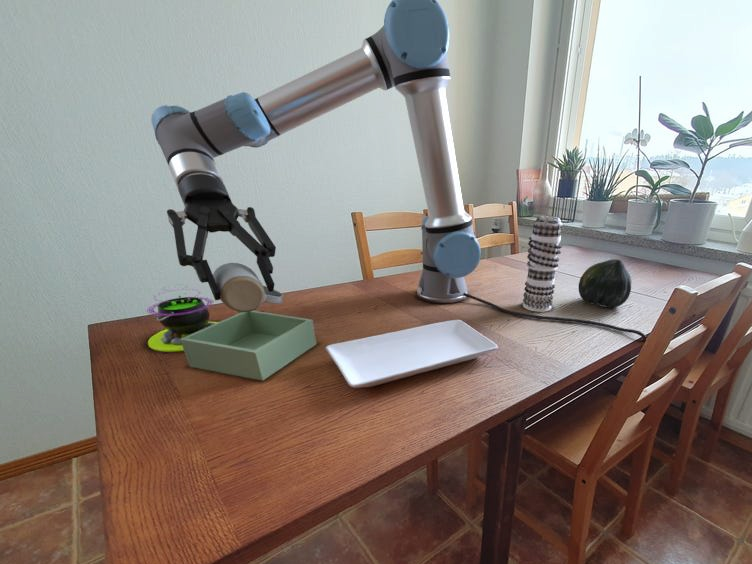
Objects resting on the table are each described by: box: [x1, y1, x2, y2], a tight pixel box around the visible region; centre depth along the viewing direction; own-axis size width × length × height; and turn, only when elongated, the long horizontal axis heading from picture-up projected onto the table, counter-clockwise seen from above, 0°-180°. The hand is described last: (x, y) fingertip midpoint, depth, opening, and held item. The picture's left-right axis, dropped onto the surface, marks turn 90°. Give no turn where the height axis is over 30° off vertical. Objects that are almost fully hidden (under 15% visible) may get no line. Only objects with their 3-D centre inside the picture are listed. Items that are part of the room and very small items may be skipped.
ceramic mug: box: [212, 262, 284, 313], centre depth 70 cm, size 11×8×8 cm
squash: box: [578, 258, 632, 309], centre depth 112 cm, size 14×15×15 cm
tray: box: [325, 319, 499, 389], centre depth 77 cm, size 17×31×4 cm, turn 124°
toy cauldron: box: [146, 283, 218, 353], centre depth 79 cm, size 15×15×11 cm
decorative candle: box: [522, 215, 564, 313], centre depth 104 cm, size 9×9×25 cm
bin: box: [180, 310, 318, 381], centre depth 75 cm, size 16×16×6 cm
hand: (245, 291), depth 68 cm, fingers closed on ceramic mug, 8 cm apart
